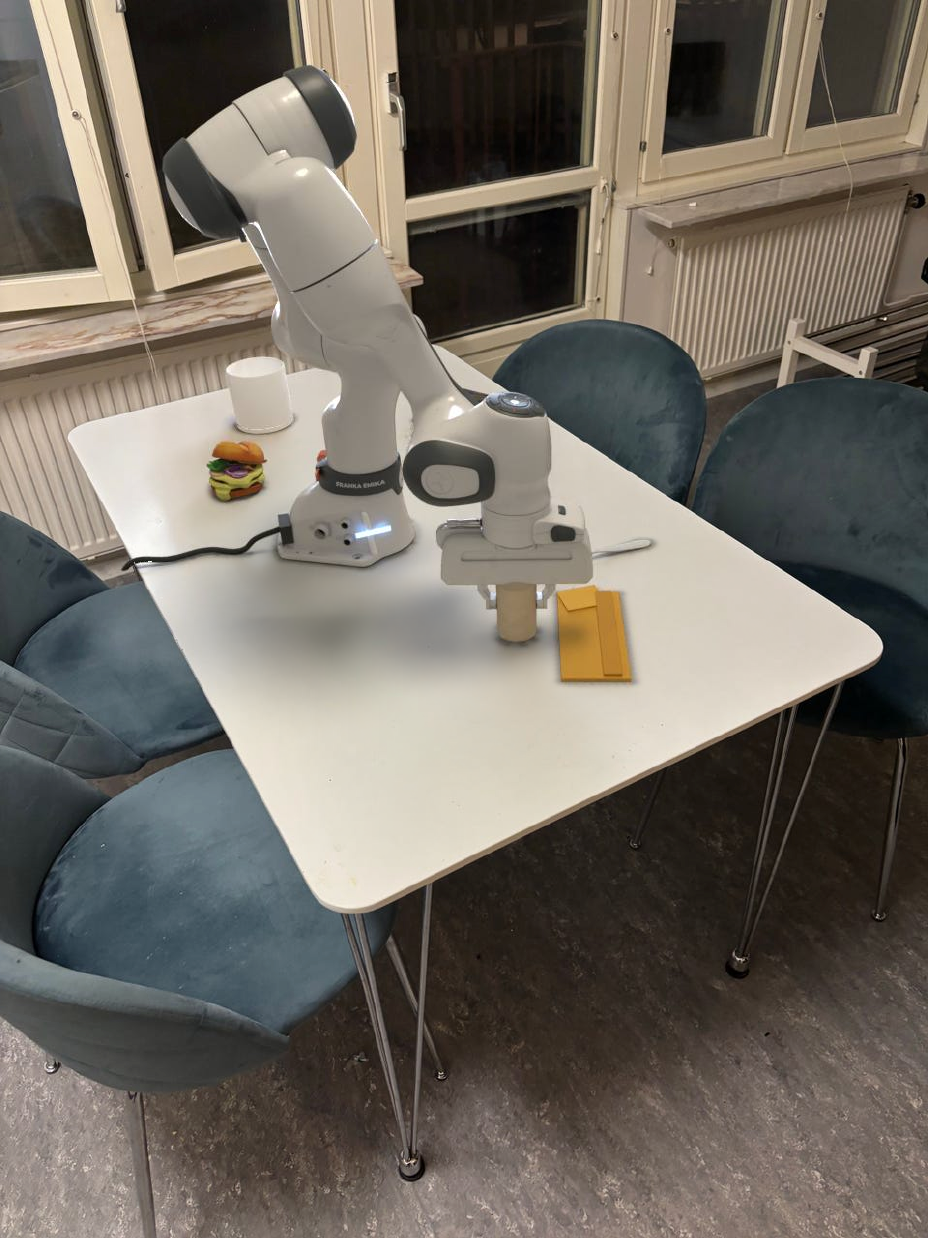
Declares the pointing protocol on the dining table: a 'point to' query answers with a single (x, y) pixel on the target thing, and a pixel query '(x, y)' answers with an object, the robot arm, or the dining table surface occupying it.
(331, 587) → the dining table surface
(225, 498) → the cheeseburger
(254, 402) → the cup
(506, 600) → the candle
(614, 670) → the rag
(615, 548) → the spoon
